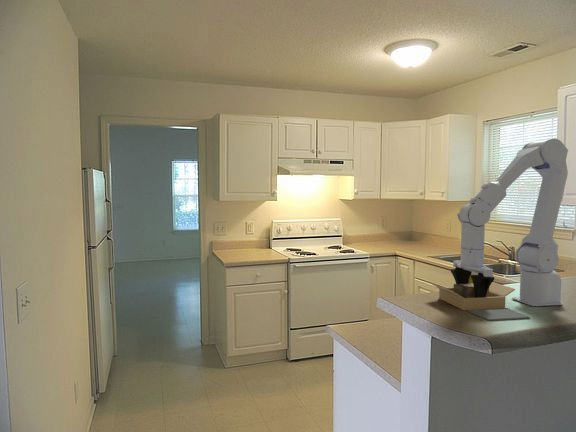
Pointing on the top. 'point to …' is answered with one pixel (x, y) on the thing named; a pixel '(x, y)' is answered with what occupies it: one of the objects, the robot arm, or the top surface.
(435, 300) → the top surface
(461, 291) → the box
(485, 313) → the mat
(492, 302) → the carton
